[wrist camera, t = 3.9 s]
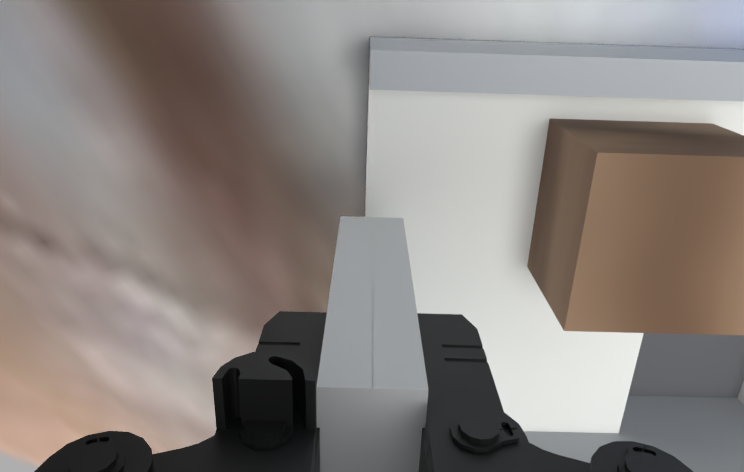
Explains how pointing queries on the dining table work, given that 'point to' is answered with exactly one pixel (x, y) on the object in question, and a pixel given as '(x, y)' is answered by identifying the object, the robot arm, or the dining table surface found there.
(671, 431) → the box
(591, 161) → the walnut block
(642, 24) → the dining table surface
